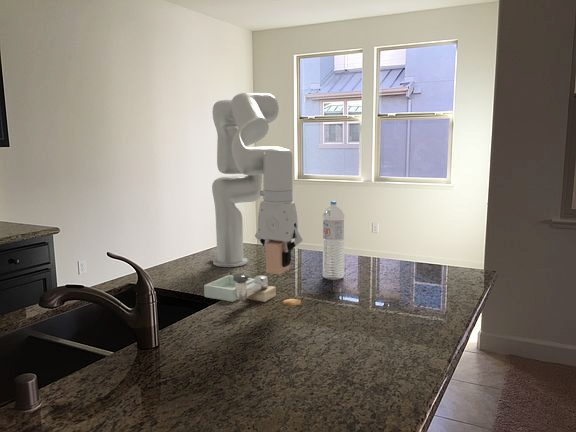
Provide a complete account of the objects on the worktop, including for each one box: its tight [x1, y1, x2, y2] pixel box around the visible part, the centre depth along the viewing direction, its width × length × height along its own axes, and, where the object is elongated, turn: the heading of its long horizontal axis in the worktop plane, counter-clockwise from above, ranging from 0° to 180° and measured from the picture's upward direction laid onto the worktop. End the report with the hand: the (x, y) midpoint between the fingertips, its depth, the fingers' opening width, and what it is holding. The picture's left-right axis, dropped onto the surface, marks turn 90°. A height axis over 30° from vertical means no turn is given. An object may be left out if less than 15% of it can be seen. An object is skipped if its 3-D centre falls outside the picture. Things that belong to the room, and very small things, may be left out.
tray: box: [203, 274, 255, 303], centre depth 144 cm, size 10×12×4 cm
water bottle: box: [322, 200, 345, 281], centre depth 158 cm, size 7×7×25 cm
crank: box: [233, 273, 269, 300], centre depth 135 cm, size 14×4×6 cm, turn 151°
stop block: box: [264, 240, 292, 275], centre depth 130 cm, size 4×6×8 cm, turn 151°
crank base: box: [246, 285, 302, 307], centre depth 138 cm, size 16×6×3 cm, turn 61°
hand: (278, 263), depth 131 cm, fingers closed on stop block, 4 cm apart
